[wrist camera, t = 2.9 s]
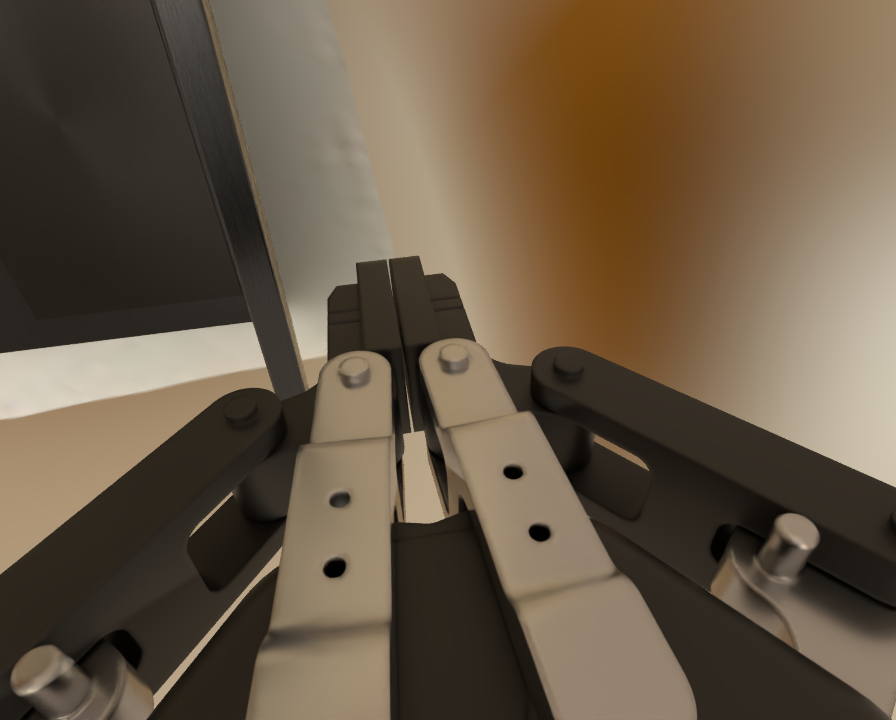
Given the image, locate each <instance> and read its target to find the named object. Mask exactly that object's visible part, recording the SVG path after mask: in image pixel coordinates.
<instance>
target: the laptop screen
mask: <svg viewBox="0 0 896 720" xmlns="http://www.w3.org/2000/svg"><path fill="white" fill-rule="evenodd" d="M152 1H153V4H154V7H155V11H156V14H157V17H158V20H159V23H160V27H161V30H162V33H163V36H164V39H165V43H166V46H167V49H168V52H169V55H170V59H171V62H172V65H173V68H174V71H175V75H176V78H177V81H178V84H179V88H180V91H181V94H182V97H183V100H184V104H185V107H186V110H187V113H188V116H189V120H190V123H191V126H192V129H193V132H194V136H195V139H196V142H197V145H198V148H199V152H200V155H201V158H202V161H203V164H204V168H205V171H206V174H207V177H208V180H209V184H210V187H211V190H212V193H213V196H214V200H215V203H216V206H217V209H218V212H219V216H220V219H221V222H222V225H223V228H224V232H225V235H226V238H227V241H228V245H229V248H230V251H231V254H232V257H233V261H234V264H235V267H236V270H237V273H238V277H239V280H240V283H241V286H242V289H243V293H244V296H245V299H246V302H247V305H248V309H249V312H250V315H251V318H252V321H253V325H254V328H255V331H256V334H257V337H258V341H259V344H260V347H261V350H262V353H263V357H264V360H265V363H266V366H267V369H268V373H269V376H270V379H271V382H272V385H273V389H274V392H275V394H276V395H277V396H278V398H279V399H280V401H282V400H285V399H288V398H291V397H293V396H296V395H298V394H301V393H303V392H305V391H307V390H309V388H308V384H307V380H306V376H305V372H304V368H303V364H302V359H301V355H300V351H299V347H298V343H297V339H296V335H295V331H294V327H293V323H292V319H291V315H290V311H289V307H288V303H287V300H286V296H285V292H284V288H283V284H282V280H281V276H280V272H279V269H278V265H277V261H276V257H275V253H274V249H273V245H272V241H271V238H270V234H269V230H268V226H267V222H266V218H265V214H264V211H263V207H262V203H261V199H260V195H259V191H258V187H257V183H256V180H255V176H254V172H253V168H252V164H251V160H250V156H249V153H248V149H247V145H246V141H245V137H244V133H243V129H242V125H241V122H240V118H239V114H238V110H237V106H236V102H235V98H234V95H233V91H232V87H231V83H230V79H229V75H228V71H227V67H226V64H225V60H224V56H223V52H222V48H221V44H220V40H219V37H218V33H217V29H216V25H215V21H214V17H213V13H212V9H211V6H210V2H209V0H152Z"/></svg>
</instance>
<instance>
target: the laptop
mask: <svg viewBox="0 0 896 720" xmlns="http://www.w3.org/2000/svg"><path fill="white" fill-rule="evenodd" d="M245 322H253V321H252V318H251V315H250V312H249V309H248V305H247V302H246V299H245V296H244V293H243V289H242V286H241V283H240V280H239V277H238V273H237V270H236V267H235V264H234V261H233V257H232V254H231V251H230V248H229V245H228V241H227V238H226V235H225V232H224V228H223V225H222V222H221V219H220V216H219V212H218V209H217V206H216V203H215V200H214V196H213V193H212V190H211V187H210V184H209V180H208V177H207V174H206V171H205V168H204V164H203V161H202V158H201V155H200V152H199V148H198V145H197V142H196V139H195V136H194V132H193V129H192V126H191V123H190V120H189V116H188V113H187V110H186V107H185V104H184V100H183V97H182V94H181V91H180V88H179V84H178V81H177V78H176V75H175V71H174V68H173V65H172V62H171V59H170V55H169V52H168V49H167V46H166V43H165V39H164V36H163V33H162V30H161V27H160V23H159V20H158V17H157V14H156V11H155V7H154V4H153V1H152V0H0V353H6V352H14V351H22V350H30V349H38V348H46V347H54V346H62V345H70V344H78V343H86V342H94V341H102V340H110V339H118V338H126V337H134V336H142V335H150V334H158V333H166V332H173V331H181V330H189V329H197V328H205V327H213V326H221V325H229V324H237V323H245Z"/></svg>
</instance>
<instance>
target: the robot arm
mask: <svg viewBox="0 0 896 720" xmlns="http://www.w3.org/2000/svg"><path fill="white" fill-rule="evenodd" d="M389 267H390V276H391V284H392V290H391V284H390V278H389V273H388V267H387V261H386V260H378V261H369V262H360V263H356V269H357V281H358V284H350V285H342V286H336V288H335V289H334V290H333V292H332V293H331V295H330V296H329V298H328V362H327V363H326V364H325V365H324V366H323V367H322V369H321V371H320V374H319V379H318V383H317V384H316V385H315V386H313V387H312V388H310V389H309V390H307V391H305V392H303V393H301V394H298V395H296V396H293V397H291V398H288V399H285V400H282V401H280V399H279V398H278V396H277V395H276V394H274V393H273V392H271V391H269V390H266V389H261V388H247V389H241V390H237V391H234V392H231V393H229V394H226V395H225V396H223V397H221V398H220V399H218V400H217V401H215V402H214V403H212V404H211V405H210V406H209V407H208V408H206V409H205V410H204V411H203V412H201V413H200V414H199V415H198V416H196V417H195V418H194V419H193V420H191V421H190V422H189V423H188V424H186V425H185V426H184V427H183V428H182V429H180V430H179V431H178V432H177V433H175V434H174V435H173V436H172V437H170V438H169V439H168V440H167V441H165V442H164V443H163V444H162V445H160V446H159V447H158V448H157V449H155V450H154V451H153V452H152V453H150V454H149V455H148V456H147V457H146V458H145V459H143V460H142V461H141V462H140V463H138V464H137V465H136V466H134V467H133V468H132V469H131V470H129V471H128V472H127V473H126V474H124V475H123V476H122V477H121V478H119V479H118V480H117V481H116V482H115V483H113V484H112V485H111V486H110V487H108V488H107V489H106V490H105V491H103V492H102V493H101V494H100V495H98V496H97V497H96V498H95V499H93V500H92V501H91V502H90V503H89V504H87V505H86V506H85V507H84V508H82V509H81V510H80V511H79V512H77V513H76V514H75V515H74V516H72V517H71V518H70V519H69V520H67V521H66V522H65V523H64V524H62V525H61V526H60V527H59V528H58V529H56V530H55V531H54V532H53V533H51V534H50V535H49V536H48V537H46V538H45V539H44V540H43V541H42V542H40V543H39V544H38V545H36V546H35V547H34V548H33V549H32V550H30V551H29V552H28V553H27V554H25V555H24V556H23V557H22V558H20V559H19V560H18V561H17V562H16V563H14V564H13V565H12V566H10V567H9V568H8V569H7V570H5V571H4V572H3V573H2V574H1V575H0V720H892V719H891V717H892V713H893V709H894V706H895V702H896V488H895V487H893V486H891V485H889V484H886V483H884V482H882V481H879V480H877V479H875V478H873V477H870V476H868V475H866V474H864V473H861V472H859V471H857V470H855V469H852V468H850V467H848V466H846V465H843V464H841V463H839V462H837V461H834V460H832V459H830V458H828V457H825V456H823V455H821V454H819V453H816V452H814V451H812V450H809V449H807V448H805V447H803V446H800V445H798V444H796V443H794V442H791V441H789V440H787V439H785V438H782V437H780V436H778V435H776V434H773V433H771V432H769V431H767V430H764V429H762V428H760V427H757V426H755V425H753V424H751V423H749V422H746V421H744V420H741V419H739V418H737V417H735V416H732V415H730V414H728V413H726V412H724V411H721V410H719V409H717V408H714V407H712V406H710V405H708V404H706V403H703V402H701V401H699V400H697V399H694V398H692V397H690V396H688V395H685V394H683V393H680V392H678V391H676V390H674V389H671V388H669V387H667V386H665V385H663V384H660V383H658V382H656V381H654V380H651V379H649V378H647V377H645V376H642V375H640V374H638V373H635V372H633V371H631V370H629V369H627V368H624V367H622V366H620V365H617V364H615V363H613V362H611V361H608V360H606V359H604V358H602V357H599V356H597V355H595V354H592V353H590V352H588V351H585V350H583V349H579V348H574V347H554V348H550V349H547V350H544V351H542V352H541V353H539V354H538V355H537V356H536V357H535V358H534V360H533V362H532V366H522V365H512V364H505V363H501V362H499V361H496V360H493V359H491V358H490V356H489V354H488V352H487V351H486V349H485V348H484V347H483V346H481V345H480V344H478V343H476V340H475V337H474V334H473V331H472V329H471V326H470V323H469V320H468V318H467V315H466V312H465V309H464V307H463V303H462V300H461V298H460V295H459V292H458V289H457V286H456V284H455V282H453V281H452V280H451V279H449V278H448V277H447V276H446V275H444V274H443V273H441V274H434V275H426V276H424V272H423V269H422V265H421V261H420V258H419V256H411V257H403V258H394V259H389ZM392 293H393V296H392ZM405 381H406V383H405ZM406 386H407V392H408V398H409V404H410V410H411V415H412V421H413V428H414V432H417V431H423V430H424V431H425V437H426V442H427V454H428V461H429V465H430V468H431V471H432V475H433V478H434V482H435V485H436V489H437V492H438V496H439V499H440V502H441V506H442V509H443V513H444V516H445V519H443V520H441V521H438V522H435V523H431V524H422V523H406V511H405V488H404V487H405V486H404V464H403V454H404V439H403V434H405V433H411V427H410V419H409V410H408V401H407V392H406ZM595 434H596V435H598V436H600V437H602V438H604V439H605V440H607V441H609V442H611V443H613V444H615V445H617V446H618V447H620V448H622V449H624V450H626V451H628V452H630V453H632V454H634V455H635V456H637V457H639V458H640V459H641V460H642V461H643V462H644V463H645V464H646V465H647V467H648V469H649V471H648V470H646V469H644V468H642V467H640V466H639V465H637V464H635V463H633V462H631V461H629V460H627V459H626V458H624V457H622V456H620V455H618V454H616V453H614V452H612V451H611V450H609V449H607V448H605V447H603V446H601V445H600V444H598V443H596V442H594V438H595ZM231 492H232V493H233V495H232V496H231V497H230V498H229V499H228V500H227V501H226V502H225V503H224V504H223V505H222V506H221V507H220V508H219V509H218V510H217V511H216V512H215V513H214V514H213V515H212V516H211V517H210V518H209V519H208V520H207V521H206V522H205V523H204V524H203V525H202V526H201V527H200V528H199V529H198V530H197V531H196V532H195V533H194V534H193V535H192V536H191V537H190V535H191V533H192V531H193V530H194V529H195V527H196V526H197V525H198V524H199V523H200V522H201V521H202V520H203V519H204V518H205V517H206V516H207V515H208V514H209V513H210V512H211V511H212V510H213V509H214V508H215V507H216V506H217V505H218V504H219V503H220V502H221V501H222V500H223V499H224V498H225V497H226V496H228V495H229V494H230V493H231ZM588 516H589V517H591V518H589V517H588ZM189 537H190V538H189ZM281 547H282V552H281V559H280V565H279V566H278V567H276V568H275V569H274V570H272V571H271V572H270V573H269V574H268V575H266V576H265V577H264V578H263V579H261V580H260V581H259V582H258V583H257V584H256V585H255V586H254V587H253V588H252V590H250V591H249V593H248V594H247V595H246V596H245V597H244V599H243V600H242V601H241V602H240V604H239V605H238V606H237V607H236V609H235V610H234V611H233V612H232V614H231V615H230V616H229V617H228V618H227V620H226V621H225V622H224V623H223V625H222V626H221V627H220V629H219V630H218V631H217V632H216V633H215V635H214V636H213V637H212V638H211V640H210V641H209V642H208V643H207V645H206V646H205V647H204V648H203V649H202V651H201V652H200V653H199V654H198V656H197V657H196V658H195V659H194V661H193V662H192V663H191V664H190V666H189V667H188V668H187V669H186V671H185V672H184V673H183V674H182V676H181V677H180V678H179V679H178V681H177V682H176V683H175V684H174V686H173V687H172V688H171V689H170V691H169V692H168V693H167V694H166V695H165V697H164V698H163V699H162V700H161V702H160V703H159V704H158V705H157V707H156V708H155V709H154V699H153V696H154V694H155V693H156V692H157V691H158V690H159V688H160V687H161V686H162V685H163V684H164V683H165V682H166V680H167V679H168V678H169V677H170V676H171V675H172V674H173V672H174V671H175V670H176V669H177V668H178V667H179V665H180V664H181V663H182V662H183V661H184V659H185V658H186V657H187V656H188V655H189V653H191V652H192V650H193V649H194V648H195V647H196V646H197V645H198V643H199V642H200V641H201V640H202V639H203V638H204V636H205V635H206V634H207V633H208V632H209V631H210V629H211V628H212V627H213V626H214V625H215V624H216V622H217V621H218V620H219V619H220V618H221V616H222V615H223V614H224V613H225V612H226V611H227V610H228V608H229V607H230V606H231V605H232V604H233V603H234V601H235V600H236V599H237V598H238V597H239V596H240V594H241V593H242V592H243V591H244V590H245V589H246V587H247V586H248V585H249V584H250V583H251V582H252V581H253V579H254V578H255V577H256V576H257V575H258V574H259V572H260V571H261V570H262V569H263V568H264V567H265V565H266V564H267V563H268V562H269V561H270V560H271V558H272V557H273V556H274V555H275V554H276V553H277V551H278V550H279V549H280V548H281ZM702 587H703V588H702ZM705 589H706V590H705ZM708 591H709V592H711V593H712V594H711V593H709V592H708Z"/></svg>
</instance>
